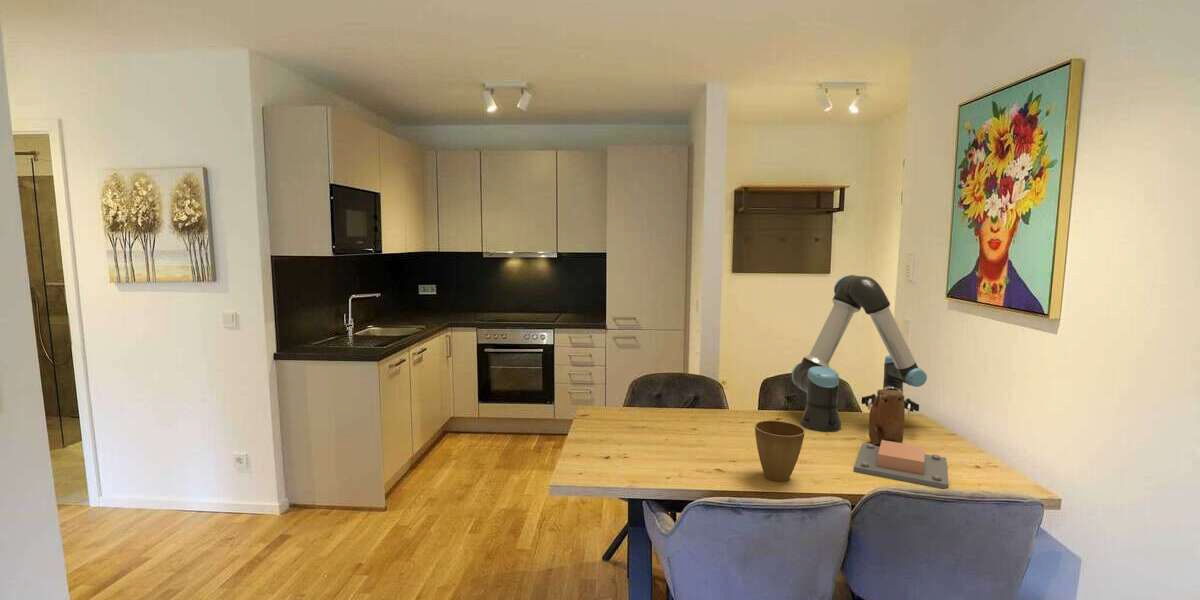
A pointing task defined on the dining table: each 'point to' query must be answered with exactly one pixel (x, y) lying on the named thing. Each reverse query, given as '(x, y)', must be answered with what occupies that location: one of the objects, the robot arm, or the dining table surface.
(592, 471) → the dining table surface
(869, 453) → the tower base
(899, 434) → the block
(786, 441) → the plant pot
